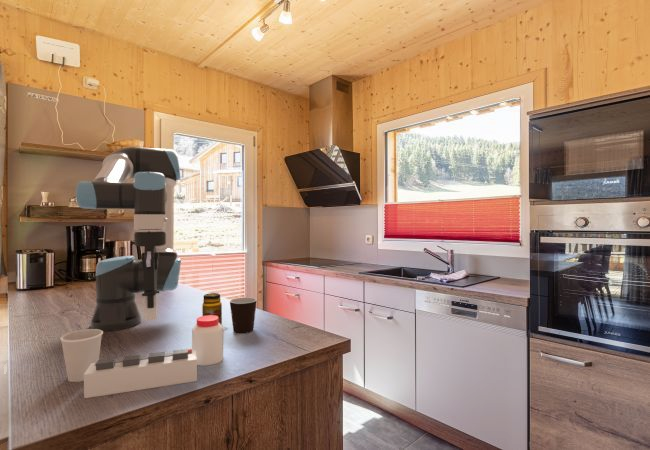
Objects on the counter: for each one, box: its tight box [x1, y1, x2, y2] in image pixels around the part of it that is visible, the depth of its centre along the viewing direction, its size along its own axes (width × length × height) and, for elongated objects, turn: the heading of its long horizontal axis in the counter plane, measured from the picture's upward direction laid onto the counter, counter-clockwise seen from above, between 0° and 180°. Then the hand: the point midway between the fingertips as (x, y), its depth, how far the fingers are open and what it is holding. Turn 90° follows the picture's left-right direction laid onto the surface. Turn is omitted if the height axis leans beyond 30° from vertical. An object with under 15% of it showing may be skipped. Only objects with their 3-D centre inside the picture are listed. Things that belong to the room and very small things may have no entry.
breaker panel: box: [83, 348, 198, 399], centre depth 81 cm, size 6×22×6 cm, turn 111°
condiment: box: [201, 292, 227, 331], centre depth 118 cm, size 7×8×12 cm
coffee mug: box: [229, 296, 258, 335], centre depth 119 cm, size 12×9×10 cm
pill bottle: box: [191, 315, 224, 367], centre depth 94 cm, size 8×8×11 cm
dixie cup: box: [59, 328, 104, 383], centre depth 84 cm, size 8×8×10 cm
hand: (151, 319), depth 96 cm, fingers closed
